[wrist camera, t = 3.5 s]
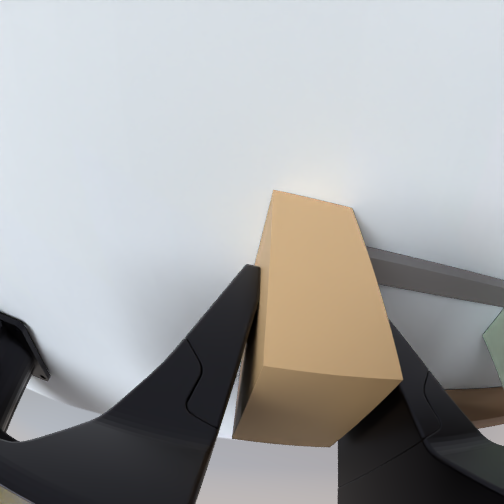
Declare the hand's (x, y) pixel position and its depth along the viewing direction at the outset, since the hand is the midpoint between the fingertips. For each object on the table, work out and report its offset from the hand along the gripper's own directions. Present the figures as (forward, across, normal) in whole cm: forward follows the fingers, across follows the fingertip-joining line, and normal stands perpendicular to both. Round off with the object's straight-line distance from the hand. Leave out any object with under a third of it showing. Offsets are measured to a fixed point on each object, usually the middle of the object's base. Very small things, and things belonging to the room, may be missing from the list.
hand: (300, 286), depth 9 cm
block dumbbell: (+2, -8, 0) cm, 8 cm away
